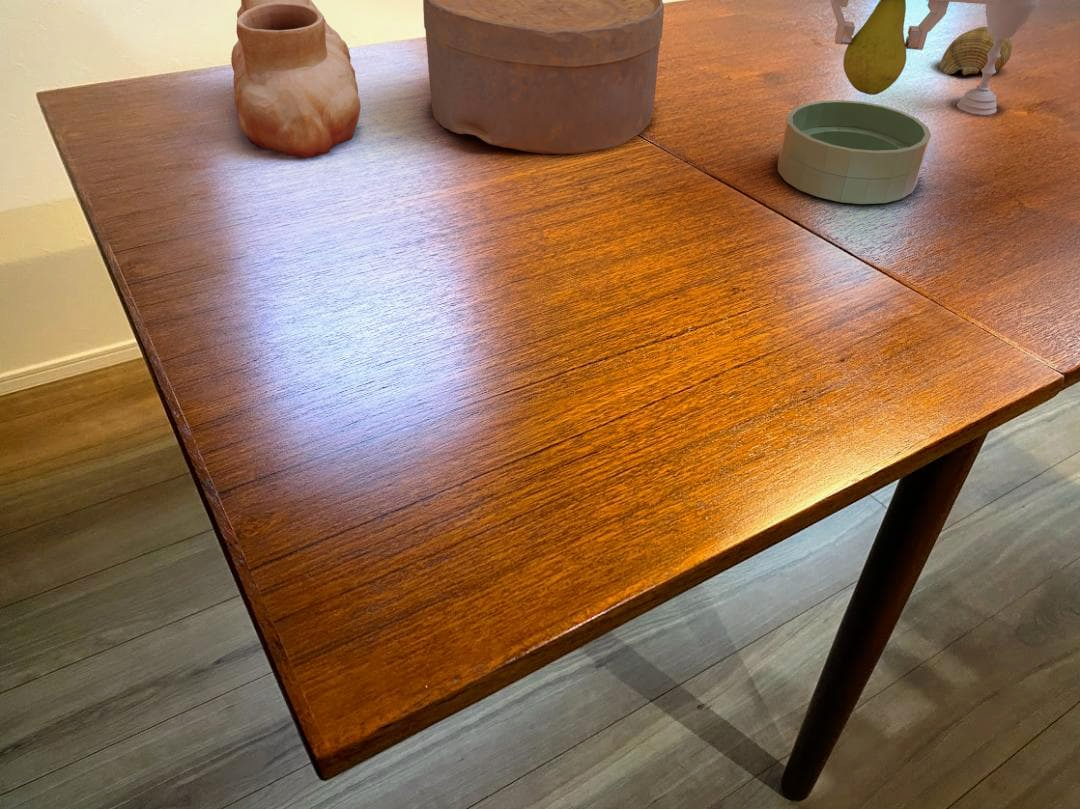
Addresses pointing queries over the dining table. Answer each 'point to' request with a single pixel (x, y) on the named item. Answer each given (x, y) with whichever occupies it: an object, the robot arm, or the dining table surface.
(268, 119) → the ceramic vessel
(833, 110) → the bowl
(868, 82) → the fruit
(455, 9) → the container
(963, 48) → the seashell
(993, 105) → the chalice
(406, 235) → the dining table surface
